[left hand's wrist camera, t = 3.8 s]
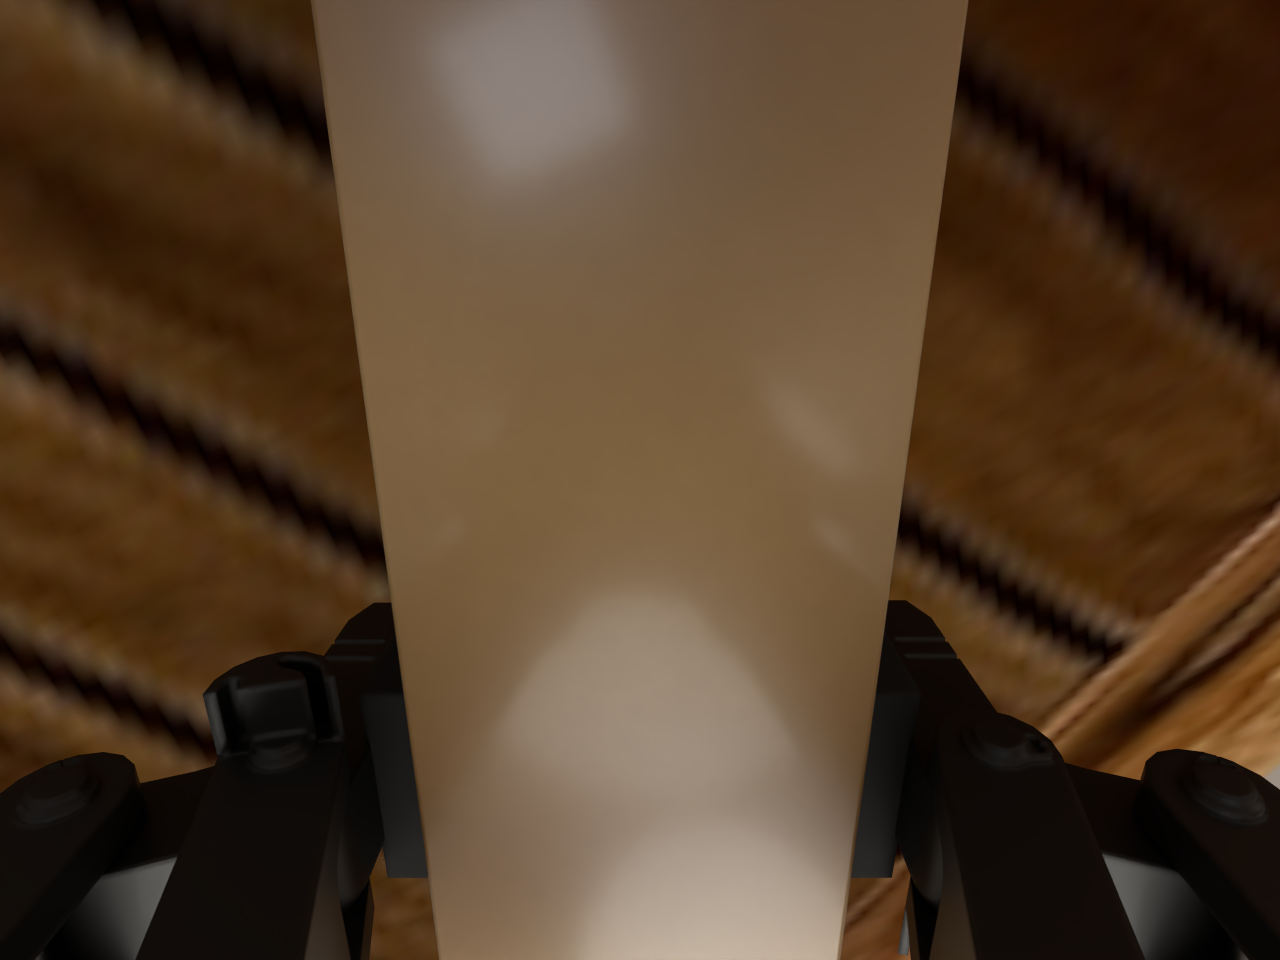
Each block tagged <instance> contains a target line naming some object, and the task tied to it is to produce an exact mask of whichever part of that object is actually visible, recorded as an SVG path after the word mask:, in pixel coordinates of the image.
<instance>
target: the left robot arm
mask: <svg viewBox="0 0 1280 960" xmlns="http://www.w3.org/2000/svg"><path fill="white" fill-rule="evenodd" d="M203 698H204V702H205V706H206V710H207V714H208V718H209V722H210V726H211V730H212V734H213V738H214V742H215V746H216V750H217V754H218V759H217V761H216V764H215V766H213V767H209V768H206V769H202V770H199V771H195V772H191V773H186V774H182V775H177V776H172V777H168V778H163V779H159V780H154V781H149V782H145V783H140V782H139V778H138V775H137V772H136V768H135V765H134V764H133V763H132V762H131V761H130V760H128V759H127V758H126V757H125V756H123V755H118V754H112V753H106V752H100V753H92V754H84V755H77V756H74V757H70V758H66V759H64V760H59V761H57V762H54V763H51V764H48V765H46V766H44V767H43V768H41V769H39V770H37V771H35V772H33V773H31V774H29V775H27V776H25V777H23V778H21V779H19V780H18V781H17V782H15V783H14V784H13V785H11V786H10V787H8V788H7V789H6V790H4V791H3V792H2V793H0V960H369V955H370V946H371V936H372V926H373V916H374V902H373V895H372V889H371V883H370V875H371V872H372V870H373V867H374V865H375V862H376V860H377V857H378V855H379V852H380V850H381V847H382V845H383V851H384V857H385V863H386V870H387V876H388V878H428V872H427V864H426V857H425V850H424V842H423V835H422V827H421V820H420V812H419V805H418V797H417V790H416V782H415V775H414V768H413V760H412V753H411V745H410V738H409V730H408V723H407V715H406V708H405V700H404V693H403V686H402V678H401V671H400V663H399V656H398V648H397V641H396V633H395V626H394V618H393V611H392V603H373V604H371V605H370V606H369V607H367V608H366V609H364V610H363V611H361V612H360V613H358V614H357V615H356V616H354V617H353V618H351V619H350V620H349V621H348V622H347V624H346V625H345V626H344V628H343V629H342V631H341V632H340V634H339V635H338V637H337V638H336V639H335V644H332V645H331V647H330V648H329V650H328V651H327V652H326V654H325V655H324V657H323V656H322V655H318V654H313V653H309V652H305V651H299V652H279V653H275V654H270V655H266V656H261V657H257V658H255V659H252V660H250V661H247V662H245V663H242V664H240V665H238V666H235V667H233V668H232V669H230V670H229V671H227V672H226V673H224V674H223V675H221V676H220V677H218V678H217V679H215V680H214V681H213V683H212V684H211V685H210V686H209V687H208V689H207V690H206V691H205V692H204V694H203ZM897 842H898V845H899V847H900V850H901V852H902V855H903V857H904V860H905V862H906V865H907V867H908V870H909V872H910V875H911V877H910V883H909V889H908V894H907V900H906V906H905V912H904V918H903V924H902V930H901V935H900V942H899V949H898V954H903V955H907V956H908V950H909V945H910V954H911V960H1280V790H1279V789H1278V788H1277V787H1275V786H1274V785H1273V784H1271V783H1270V782H1269V781H1267V780H1266V779H1265V778H1263V777H1262V776H1261V775H1259V774H1257V773H1255V772H1253V771H1251V770H1249V769H1247V768H1245V767H1243V766H1241V765H1239V764H1237V763H1235V762H1233V761H1230V760H1228V759H1225V758H1222V757H1217V756H1216V755H1212V754H1208V753H1204V752H1199V751H1191V750H1182V749H1173V750H1167V751H1160V752H1157V753H1155V754H1154V755H1153V756H1152V757H1150V758H1149V759H1148V760H1147V761H1146V763H1145V766H1144V770H1143V773H1142V776H1141V780H1136V779H1131V778H1127V777H1122V776H1117V775H1113V774H1108V773H1104V772H1099V771H1094V770H1090V769H1085V768H1082V767H1078V766H1075V765H1071V764H1068V763H1065V762H1064V760H1063V758H1062V756H1061V754H1060V753H1059V751H1058V750H1057V748H1056V747H1055V746H1054V744H1053V743H1052V741H1051V740H1050V739H1048V738H1047V737H1046V736H1045V735H1043V734H1042V733H1041V732H1039V731H1038V730H1037V729H1035V728H1034V727H1033V726H1031V725H1029V724H1027V723H1024V722H1022V721H1020V720H1018V719H1016V718H1014V717H1012V716H1009V715H1005V714H1001V713H997V712H996V710H995V709H994V707H993V706H992V705H991V703H990V702H989V700H988V699H987V697H986V696H985V694H984V693H983V692H982V690H981V689H980V687H979V686H978V684H977V683H976V682H975V680H974V679H973V677H972V676H971V674H970V673H969V671H968V670H967V669H966V667H965V666H964V664H963V663H962V661H961V660H960V659H957V654H956V653H955V651H954V650H953V649H952V647H951V646H950V644H949V643H948V642H945V637H944V636H943V634H942V633H941V631H940V630H939V628H938V627H937V626H936V624H935V623H934V621H933V620H932V618H931V617H929V616H928V615H926V614H925V613H923V612H922V611H921V610H919V609H918V608H916V607H915V606H913V605H912V604H910V603H909V602H907V601H906V600H888V605H887V613H886V620H885V628H884V635H883V643H882V650H881V658H880V665H879V673H878V680H877V688H876V695H875V703H874V710H873V717H872V725H871V732H870V740H869V747H868V755H867V762H866V770H865V777H864V785H863V792H862V800H861V807H860V815H859V822H858V830H857V837H856V844H855V852H854V859H853V867H852V874H851V878H892V873H893V867H894V860H895V854H896V848H897Z"/></svg>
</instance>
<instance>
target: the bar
mask: <svg viewBox="0 0 1280 960" xmlns="http://www.w3.org/2000/svg"><path fill="white" fill-rule="evenodd" d="M311 7H312V14H313V22H314V29H315V37H316V44H317V52H318V59H319V67H320V74H321V82H322V89H323V96H324V104H325V111H326V119H327V126H328V134H329V141H330V149H331V156H332V164H333V171H334V178H335V186H336V193H337V201H338V208H339V216H340V223H341V231H342V238H343V246H344V253H345V260H346V268H347V275H348V283H349V290H350V298H351V305H352V313H353V320H354V328H355V335H356V343H357V350H358V357H359V365H360V372H361V380H362V387H363V395H364V402H365V410H366V417H367V425H368V432H369V439H370V447H371V454H372V462H373V469H374V477H375V484H376V492H377V499H378V507H379V514H380V521H381V529H382V536H383V544H384V551H385V559H386V566H387V574H388V581H389V589H390V596H391V603H392V611H393V618H394V626H395V633H396V641H397V648H398V656H399V663H400V671H401V678H402V686H403V693H404V700H405V708H406V715H407V723H408V730H409V738H410V745H411V753H412V760H413V768H414V775H415V782H416V790H417V797H418V805H419V812H420V820H421V827H422V835H423V842H424V850H425V857H426V864H427V872H428V879H429V887H430V894H431V902H432V909H433V917H434V924H435V932H436V939H437V946H438V954H439V960H840V957H841V949H842V942H843V934H844V927H845V919H846V912H847V904H848V897H849V889H850V882H851V874H852V867H853V859H854V852H855V844H856V837H857V830H858V822H859V815H860V807H861V800H862V792H863V785H864V777H865V770H866V762H867V755H868V747H869V740H870V732H871V725H872V717H873V710H874V703H875V695H876V688H877V680H878V673H879V665H880V658H881V650H882V643H883V635H884V628H885V620H886V613H887V605H888V598H889V590H890V583H891V576H892V568H893V561H894V553H895V546H896V538H897V531H898V523H899V516H900V508H901V501H902V493H903V486H904V478H905V471H906V464H907V456H908V449H909V441H910V434H911V426H912V419H913V411H914V404H915V396H916V389H917V381H918V374H919V366H920V359H921V351H922V344H923V337H924V329H925V322H926V314H927V307H928V299H929V292H930V284H931V277H932V269H933V262H934V254H935V247H936V239H937V232H938V224H939V217H940V210H941V202H942V195H943V187H944V180H945V172H946V165H947V157H948V150H949V142H950V135H951V127H952V120H953V112H954V105H955V97H956V90H957V83H958V75H959V68H960V60H961V53H962V45H963V38H964V30H965V23H966V15H967V8H968V0H311Z"/></svg>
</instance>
